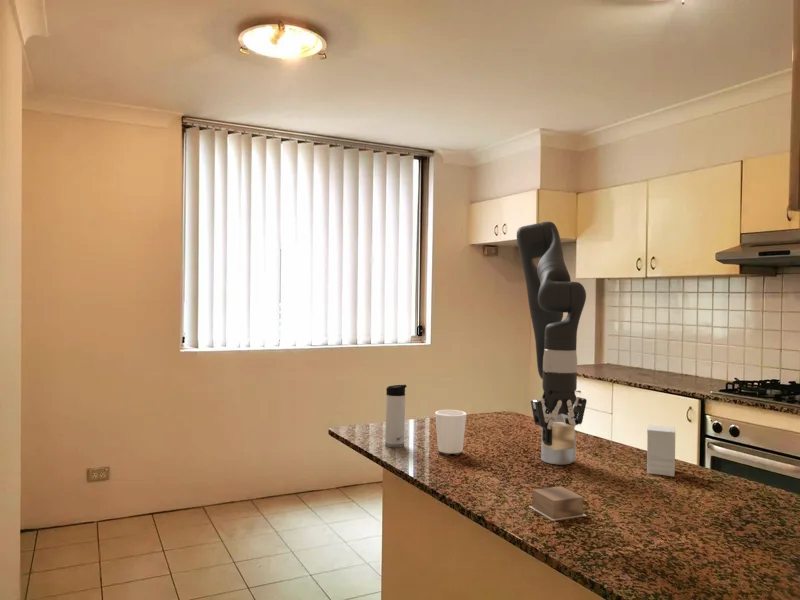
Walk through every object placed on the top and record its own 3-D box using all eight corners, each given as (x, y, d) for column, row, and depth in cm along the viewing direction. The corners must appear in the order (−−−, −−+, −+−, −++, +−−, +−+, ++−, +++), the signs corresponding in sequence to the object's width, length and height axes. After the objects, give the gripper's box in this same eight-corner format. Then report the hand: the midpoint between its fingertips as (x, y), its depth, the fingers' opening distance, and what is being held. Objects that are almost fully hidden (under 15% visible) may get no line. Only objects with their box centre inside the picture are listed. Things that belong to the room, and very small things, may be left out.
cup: (429, 455, 187) (430, 414, 187) (439, 447, 196) (440, 408, 196) (460, 458, 183) (461, 417, 183) (469, 451, 193) (470, 411, 192)
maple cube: (560, 443, 141) (560, 421, 141) (574, 448, 136) (574, 426, 136) (542, 444, 139) (542, 423, 139) (555, 450, 134) (556, 427, 134)
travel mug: (403, 448, 194) (404, 386, 194) (383, 447, 196) (384, 385, 195) (406, 443, 200) (408, 383, 200) (387, 442, 202) (388, 382, 201)
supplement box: (674, 470, 176) (675, 427, 176) (674, 477, 169) (675, 432, 169) (647, 466, 179) (648, 424, 179) (646, 473, 172) (647, 429, 172)
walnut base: (560, 503, 143) (561, 486, 143) (583, 514, 135) (583, 497, 135) (532, 506, 140) (532, 489, 140) (553, 519, 132) (553, 501, 132)
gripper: (575, 366, 143) (573, 438, 144) (523, 368, 138) (521, 442, 138) (596, 370, 136) (594, 445, 137) (543, 372, 131) (541, 450, 131)
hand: (558, 443), depth 137 cm, fingers closed on maple cube, 5 cm apart
